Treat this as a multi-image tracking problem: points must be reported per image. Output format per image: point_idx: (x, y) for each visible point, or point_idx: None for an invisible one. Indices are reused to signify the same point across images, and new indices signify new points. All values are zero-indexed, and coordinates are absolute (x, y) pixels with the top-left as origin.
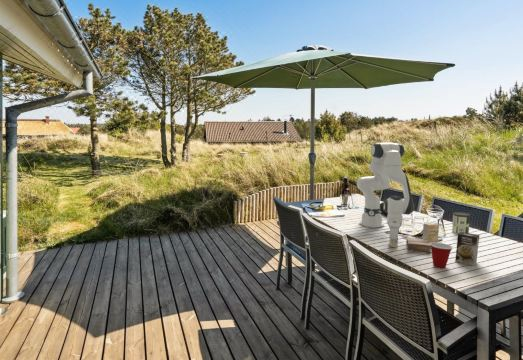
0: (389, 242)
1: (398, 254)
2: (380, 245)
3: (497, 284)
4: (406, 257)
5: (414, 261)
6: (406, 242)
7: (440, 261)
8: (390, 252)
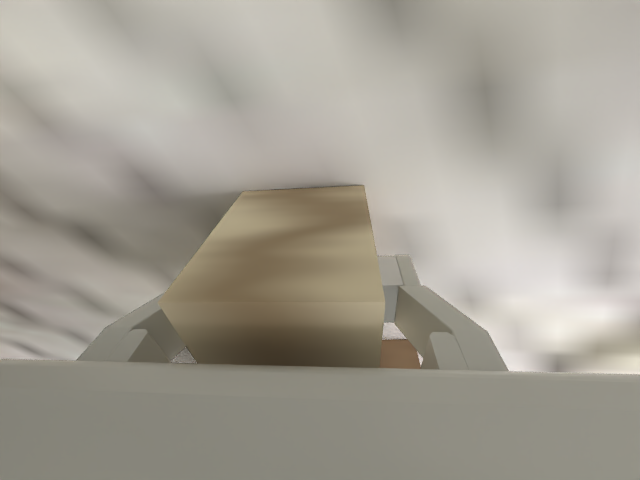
0: (221, 227)
1: (63, 286)
2: (184, 41)
3: None
4: (63, 330)
5: (45, 359)
6: (398, 364)
7: None
8: (33, 222)
